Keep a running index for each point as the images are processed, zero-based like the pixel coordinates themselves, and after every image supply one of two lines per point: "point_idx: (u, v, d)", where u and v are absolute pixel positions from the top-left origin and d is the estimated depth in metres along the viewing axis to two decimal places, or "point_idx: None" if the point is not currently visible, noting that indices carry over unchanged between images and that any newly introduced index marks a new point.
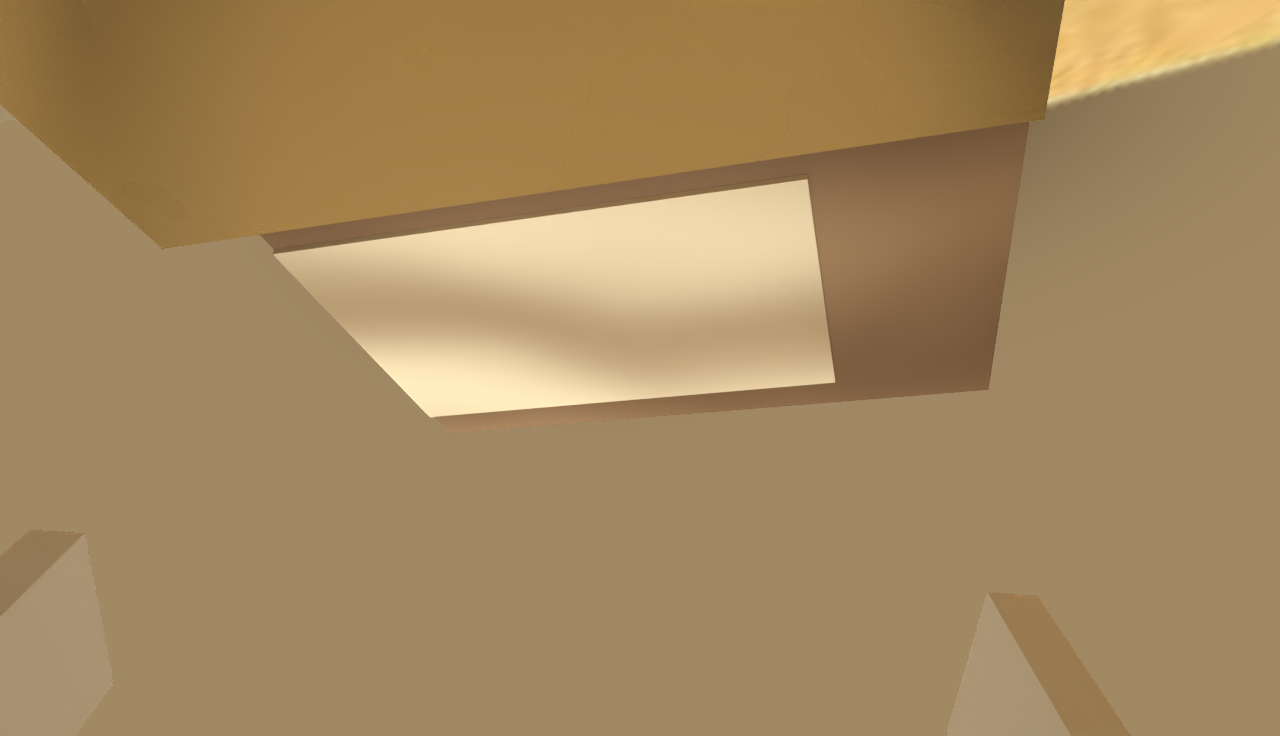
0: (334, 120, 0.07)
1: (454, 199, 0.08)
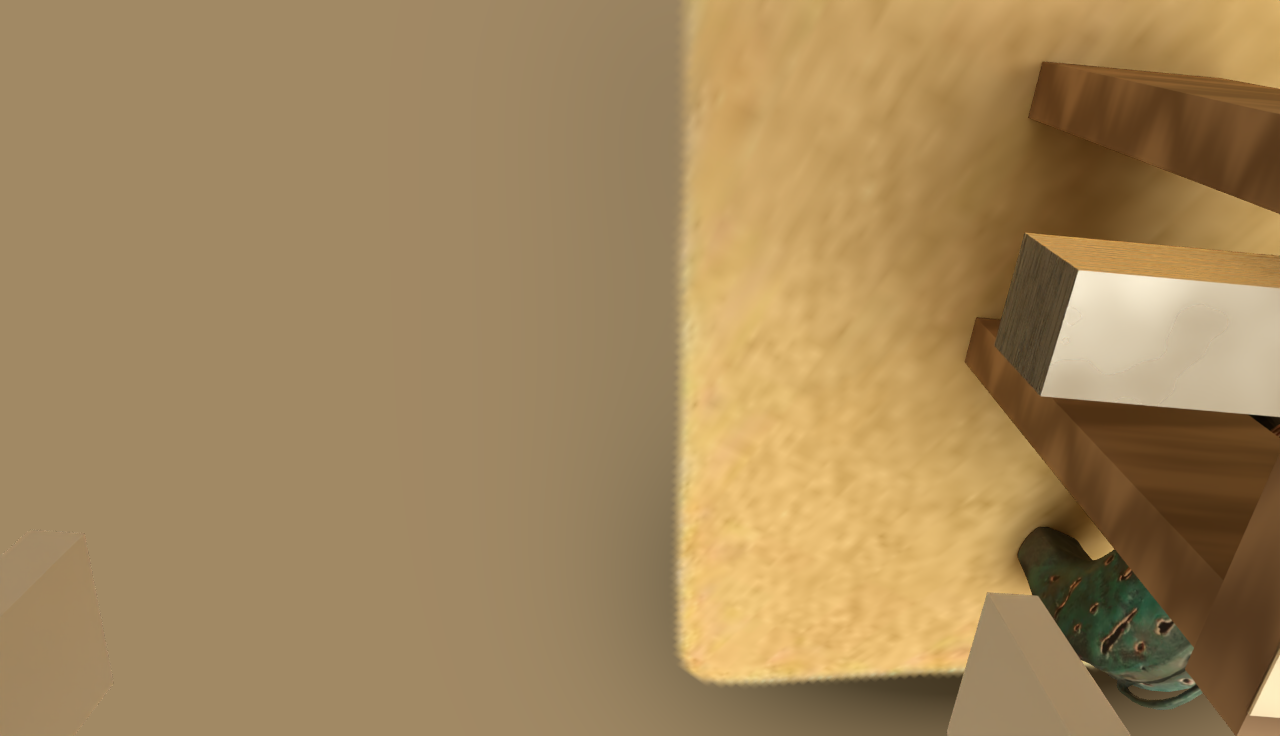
0: None
1: None
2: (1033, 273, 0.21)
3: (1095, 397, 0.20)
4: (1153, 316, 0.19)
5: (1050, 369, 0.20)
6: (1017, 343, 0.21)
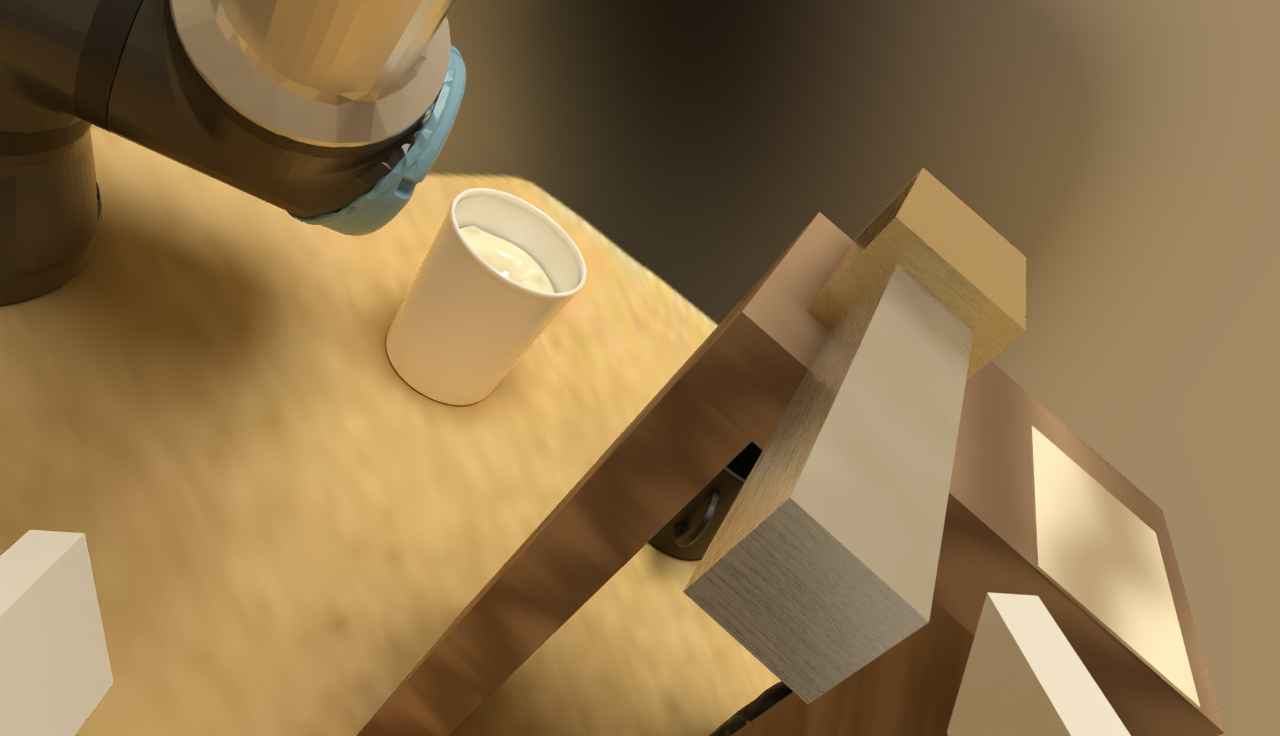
0: (998, 278, 0.28)
1: (1024, 295, 0.28)
2: (748, 589, 0.15)
3: (932, 573, 0.15)
4: (851, 478, 0.16)
5: (898, 592, 0.14)
6: (829, 651, 0.15)
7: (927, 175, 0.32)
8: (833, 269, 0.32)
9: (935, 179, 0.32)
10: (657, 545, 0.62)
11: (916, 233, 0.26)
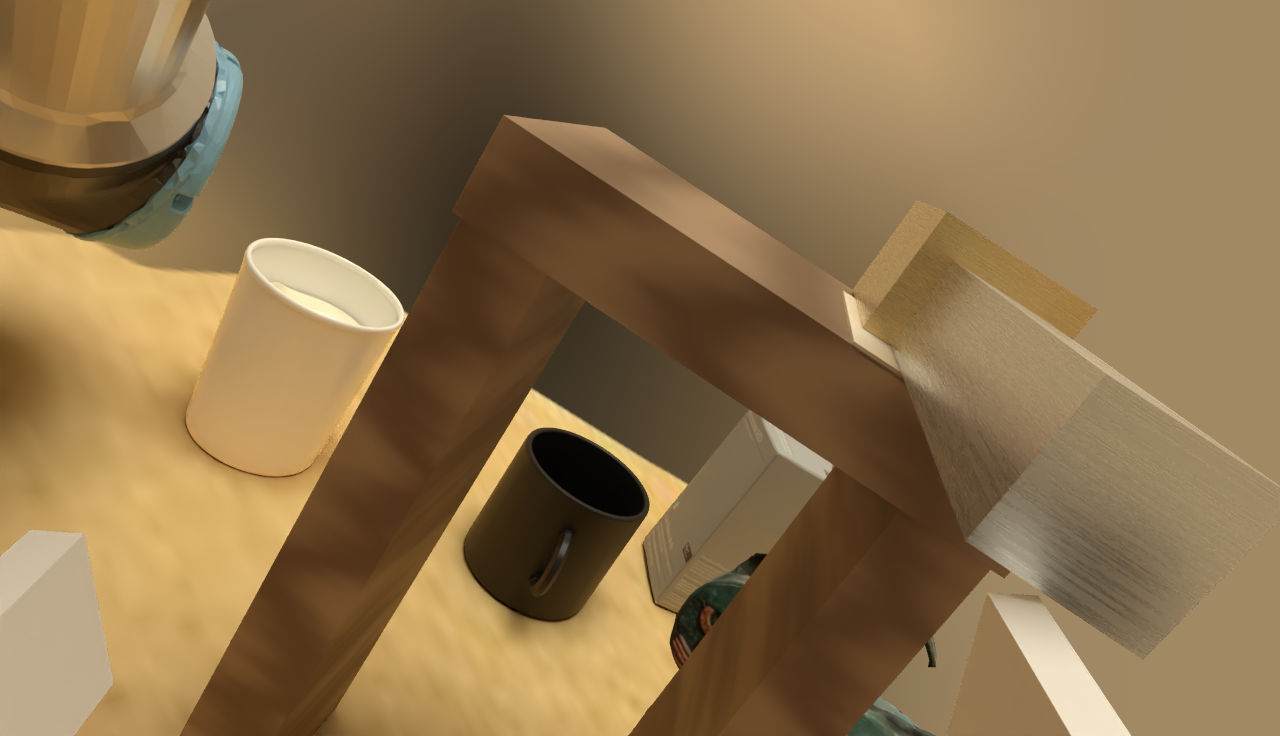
0: None
1: None
2: (1054, 514, 0.12)
3: (1249, 465, 0.13)
4: (1117, 377, 0.14)
5: (1254, 470, 0.12)
6: (1169, 574, 0.12)
7: None
8: (857, 302, 0.30)
9: None
10: (514, 607, 0.57)
11: (969, 227, 0.25)
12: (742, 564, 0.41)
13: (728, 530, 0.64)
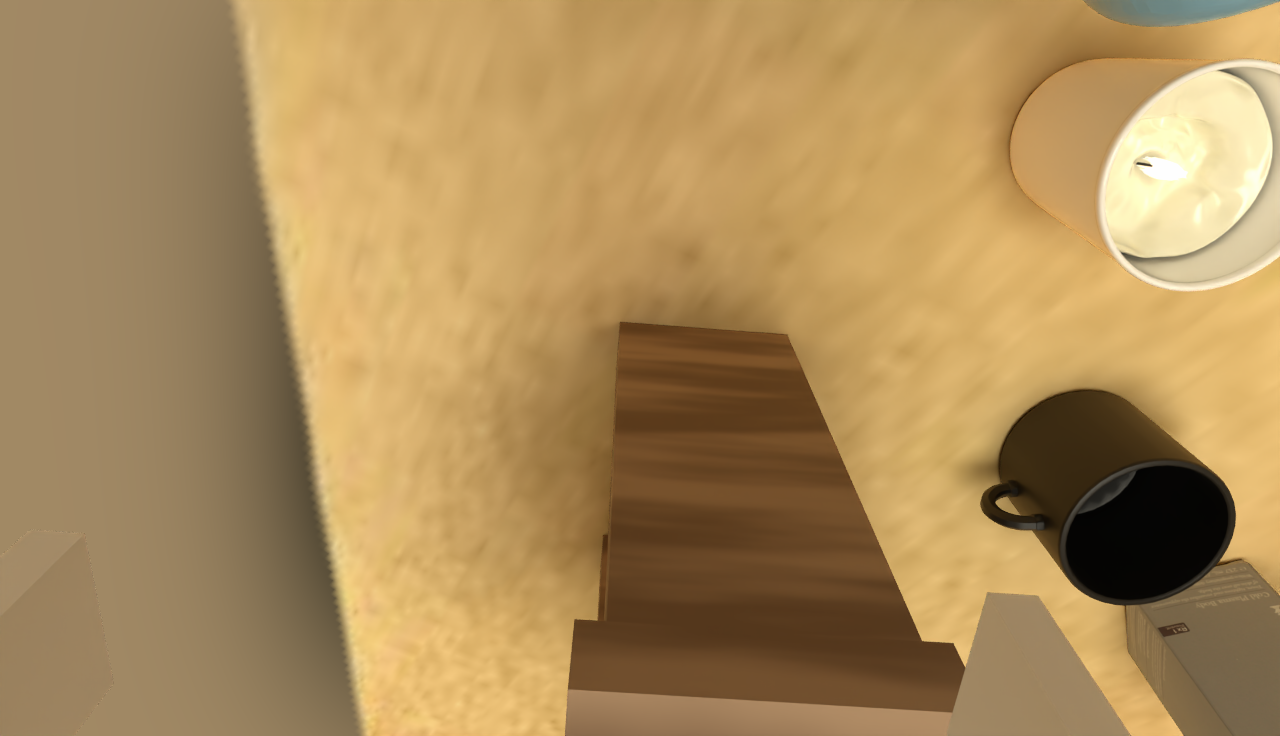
0: None
1: None
2: None
3: None
4: None
5: None
6: None
7: None
8: None
9: None
10: (1000, 463, 0.56)
11: None
12: None
13: (1190, 687, 0.53)
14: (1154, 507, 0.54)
